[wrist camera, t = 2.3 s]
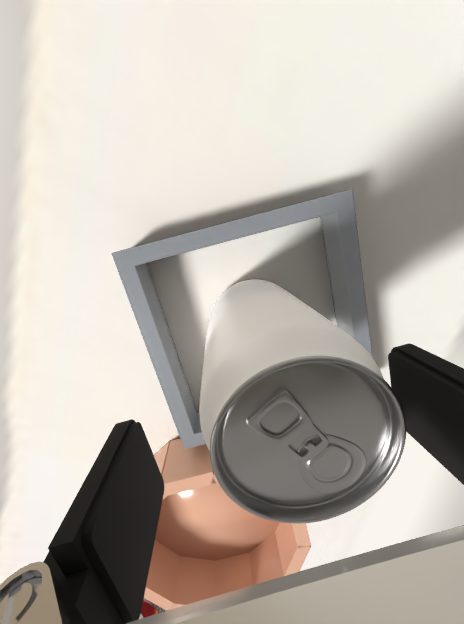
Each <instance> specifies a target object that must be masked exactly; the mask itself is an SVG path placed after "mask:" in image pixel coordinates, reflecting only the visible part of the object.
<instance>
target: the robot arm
mask: <svg viewBox="0 0 464 624" xmlns="http://www.w3.org/2000/svg"><path fill="white" fill-rule="evenodd" d="M388 360H389V369H390V378H391V387H392V389H393V391H394V392H395V394H396V395H397V397H398V399H399V401H400V403H401V406H402V408H403V412H404V416H405V422H406V431H407V432H408V433H409V434H410V435H411V436H412V437H413V438H414V439H415V440H416V441H417V442H419V443H420V444H421V445H422V446H423V447H424V448H425V449H426V450H427V451H428V452H429V453H430V454H432V456H433V457H434V458H436V459H437V460H438V461H439V462H440V463H441V464H442V465H443V466H444V467H445V468H446V469H448V471H450V472H451V473H452V474H453V475H454V476H455V477H456V478H457V479H458V480H459V481H460V482H461V483H462V484H463V485H464V369H463V368H461V367H459V366H457V365H455V364H453V363H451V362H448V361H446V360H444V359H442V358H440V357H438V356H436V355H434V354H432V353H429V352H427V351H425V350H423V349H421V348H419V347H417V346H415V345H413V344H405V345H402V346H398V347H395V348H393V349H392V351H391V353H389V355H388ZM163 495H164V480H163V478H162V475H161V473H160V470H159V468H158V465H157V463H156V460H155V458H154V455H153V453H152V450H151V448H150V445H149V443H148V441H147V438H146V436H145V433H144V431H143V428H142V426H141V424H140V423H139V422H137V423H136V422H135V421H134V420H128V421H125V422H121V423H118V424H116V425H115V426H114V428H113V430H112V431H111V433H110V435H109V437H108V439H107V441H106V442H105V444H104V446H103V448H102V450H101V452H100V454H99V455H98V457H97V459H96V461H95V463H94V465H93V466H92V468H91V470H90V472H89V474H88V476H87V477H86V479H85V481H84V483H83V485H82V487H81V488H80V490H79V492H78V494H77V496H76V498H75V500H74V501H73V503H72V505H71V507H70V509H69V511H68V512H67V514H66V516H65V518H64V520H63V522H62V523H61V525H60V527H59V529H58V531H57V533H56V534H55V536H54V538H53V540H52V542H51V544H50V545H49V547H48V549H49V553H48V555H47V557H46V559H45V561H44V562H36V563H31V564H29V565H27V566H25V567H23V568H21V569H19V570H18V571H17V572H15V573H14V574H12V575H11V576H10V577H8V578H7V579H6V580H5V581H4V582H3V583H2V584H1V585H0V624H464V525H462V526H459V527H455V528H452V529H448V530H445V531H441V532H437V533H434V534H430V535H427V536H423V537H419V538H416V539H412V540H409V541H405V542H402V543H398V544H395V545H391V546H388V547H384V548H380V549H378V550H373V551H370V552H367V553H363V554H360V555H356V556H352V557H349V558H345V559H342V560H338V561H335V562H331V563H328V564H324V565H321V566H318V567H314V568H311V569H307V570H304V571H300V572H297V573H293V574H290V575H286V576H283V577H279V578H276V579H272V580H269V581H266V582H262V583H259V584H255V585H252V586H249V587H245V588H242V589H238V590H235V591H232V592H228V593H225V594H221V595H218V596H215V597H211V598H208V599H204V600H201V601H197V602H194V603H191V604H187V605H184V606H180V607H177V608H174V609H170V610H167V611H164V612H161V613H158V614H155V615H151V616H148V617H145V618H142V619H139V617H140V614H141V610H142V604H143V599H144V594H145V589H146V584H147V578H148V573H149V568H150V563H151V558H152V552H153V547H154V542H155V537H156V532H157V526H158V521H159V516H160V511H161V506H162V500H163ZM138 619H139V620H138Z"/></svg>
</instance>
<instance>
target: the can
mask: <svg viewBox="0 0 464 624" xmlns="http://www.w3.org/2000/svg"><path fill="white" fill-rule="evenodd" d="M199 413H200V425H201V431H202V434H203V437H204V440H205V443H206V445H207V447H208V449H209V451H210V460H211V465H212V469H213V472H214V475H215V477H216V479H217V481H218V483H219V485H220V486H221V488H222V489H223V491H224V492H225V493H226V495H227V496H228V497H229V498H230V499H231V500H232V501H233V502H235V503H236V504H237V505H238V506H240V507H241V508H243V509H244V510H246V511H248V512H249V513H251V514H253V515H256V516H258V517H261V518H264V519H267V520H271V521H275V522H281V523H311V522H317V521H322V520H326V519H330V518H333V517H336V516H339V515H341V514H344V513H346V512H348V511H350V510H352V509H354V508H356V507H357V506H359V505H361V504H362V503H364V502H365V501H366V500H368V499H369V498H370V497H372V496H373V495H374V494H375V493H376V492H377V491H378V490H379V489H380V488H381V487H382V486H383V485H384V484H385V483H386V481H387V480H388V479H389V478H390V476H391V475H392V473H393V471H394V470H395V468H396V467H397V465H398V462H399V460H400V458H401V455H402V452H403V449H404V445H405V438H406V422H405V416H404V412H403V408H402V406H401V403H400V401H399V399H398V397H397V395H396V394H395V392H394V391H393V389H392V388H391V387H390V386H389V384H388V383H387V382H386V381H385V380H384V379H383V376H382V374H381V371H380V369H379V367H378V365H377V364H376V362H375V360H374V359H373V358H372V356H371V355H370V354H369V353H368V351H367V350H366V349H365V348H364V347H363V346H362V345H361V344H360V343H358V342H357V341H356V340H355V339H354V338H352V337H351V336H350V335H349V334H347V333H346V332H345V331H343V330H342V329H340V328H339V327H338V326H336V325H335V324H333V323H332V322H331V321H329V320H328V319H326V318H325V317H324V316H322V315H321V314H319V313H318V312H317V311H315V310H314V309H312V308H311V307H309V306H308V305H306V304H305V303H304V302H302V301H301V300H299V299H298V298H296V297H295V296H293V295H292V294H291V293H289V292H288V291H286V290H285V289H283V288H281V287H280V286H278V285H276V284H274V283H272V282H269V281H265V280H246V281H242V282H239V283H236V284H234V285H232V286H231V287H229V288H228V289H226V290H225V291H224V292H223V293H222V294H221V295H220V296H219V297H218V299H217V300H216V302H215V303H214V305H213V307H212V310H211V313H210V317H209V322H208V329H207V338H206V346H205V355H204V363H203V372H202V382H201V392H200V406H199Z"/></svg>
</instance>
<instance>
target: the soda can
mask: <svg viewBox="0 0 464 624" xmlns="http://www.w3.org/2000/svg"><path fill="white" fill-rule="evenodd" d="M155 614H158V611H157V610H156V608H155V607H154V606H153V605H152V604H151V602H150V601H148V600H147V599H145V598H144V599H143V604H142V610H141V614H140V617H139V619H142V618H145V617H148V616H151V615H155ZM139 619H138V620H139Z"/></svg>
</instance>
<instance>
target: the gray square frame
mask: <svg viewBox="0 0 464 624" xmlns="http://www.w3.org/2000/svg"><path fill="white" fill-rule="evenodd" d="M317 217H321V223H322V230H323V236H324V243H325V249H326V256H327V262H328V269H329V275H330V282H331V288H332V295H333V301H334V308H335V314H336V321H337V326H338V327H339V328H340V329H342V330H343V331H345V332H346V333H347V334H349V335H350V336H351V337H352V338H354V339H355V340H356V341H357V342H358V343H360V344H361V345H362V346H363V347H364V348H365V349H366V350H367V351H368V353H369V354H370V355H371V356H372V352H371V343H370V335H369V326H368V318H367V310H366V301H365V293H364V284H363V276H362V268H361V259H360V251H359V242H358V234H357V226H356V217H355V209H354V200H353V192H352V189H350V190H346V191H343V192H339V193H335V194H331V195H328V196H324V197H320V198H316V199H313V200H309V201H305V202H301V203H298V204H294V205H290V206H286V207H283V208H279V209H275V210H271V211H268V212H264V213H260V214H256V215H253V216H249V217H245V218H241V219H238V220H234V221H230V222H226V223H223V224H219V225H215V226H211V227H208V228H204V229H200V230H196V231H192V232H189V233H185V234H181V235H177V236H174V237H170V238H166V239H162V240H159V241H155V242H151V243H147V244H144V245H140V246H136V247H132V248H129V249H125V250H121V251H117V252H114V253H112V256H113V258H114V261H115V264H116V267H117V269H118V272H119V275H120V277H121V280H122V283H123V285H124V288H125V291H126V293H127V296H128V299H129V301H130V304H131V307H132V310H133V312H134V315H135V318H136V320H137V323H138V326H139V328H140V331H141V334H142V336H143V339H144V342H145V344H146V347H147V350H148V352H149V355H150V358H151V361H152V363H153V366H154V369H155V371H156V374H157V377H158V379H159V382H160V385H161V387H162V390H163V393H164V395H165V398H166V401H167V404H168V406H169V409H170V412H171V414H172V417H173V420H174V422H175V425H176V428H177V430H178V433H179V436H180V438H181V441H182V444H183V446H184V449H187V448H191V447H195V446H199V445H203V444H206V443H205V440H204V437H203V434H202V431H201V425H200V413H199V411H198V412H197V411H196V408H195V405H194V402H193V399H192V396H191V393H190V390H189V387H188V384H187V381H186V378H185V375H184V372H183V370H182V367H181V364H180V361H179V358H178V355H177V352H176V349H175V346H174V343H173V340H172V337H171V334H170V331H169V328H168V325H167V323H166V320H165V317H164V314H163V311H162V308H161V305H160V302H159V299H158V296H157V293H156V290H155V287H154V284H153V281H152V278H151V276H150V273H149V270H148V267H147V264H146V263H147V262H151V261H155V260H159V259H162V258H166V257H170V256H174V255H177V254H181V253H185V252H189V251H192V250H196V249H200V248H204V247H208V246H211V245H215V244H219V243H223V242H226V241H230V240H234V239H238V238H241V237H245V236H249V235H253V234H257V233H260V232H264V231H268V230H272V229H275V228H279V227H283V226H287V225H290V224H294V223H298V222H302V221H306V220H309V219H313V218H317Z"/></svg>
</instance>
